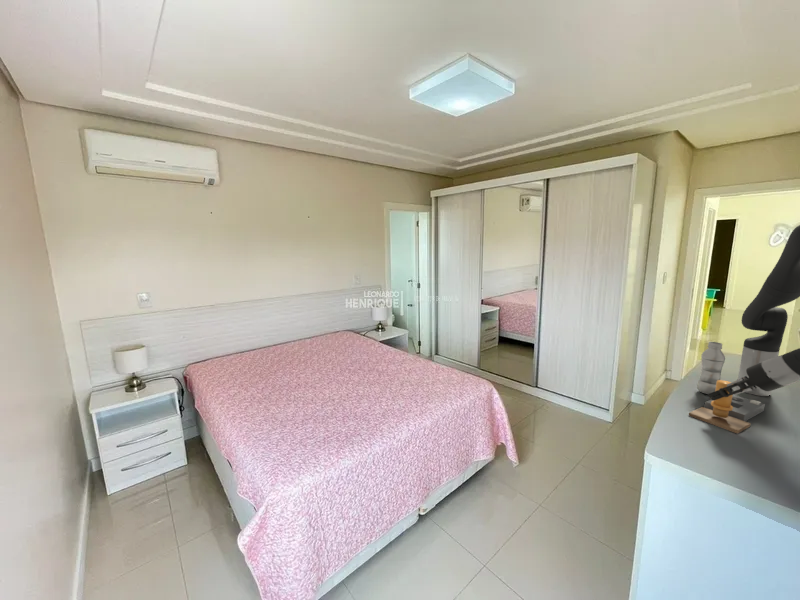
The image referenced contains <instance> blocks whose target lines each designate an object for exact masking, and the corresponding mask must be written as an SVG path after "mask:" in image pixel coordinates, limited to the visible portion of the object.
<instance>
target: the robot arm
mask: <svg viewBox="0 0 800 600" xmlns="http://www.w3.org/2000/svg"><path fill="white" fill-rule="evenodd" d="M799 298H800V224H799V225H796V227H795V228H794V229H793V230H792V232H791V233H790V234H789V237H788V239H787V240H786V244H785V246H784V248H783V249H782V253H781V255H780V257H779V259H778V260H777V262H776V263H775V265H774V266H773V268H772V270H771V272H770V273H769V275H768V276H767V277H766V279H765V280H764V282H763V284H762V286H761V288H760V290H759V292H758V293H757V295H755V297H754V298H753V300H752V301H751V302H750V303H749V304H748V306H747V307H746V308H745V310H744V311H743V314H742V317H741V324H742V326H743V328H745V329H748V330H751V331H758V332H759V331H760V332H766V333H765V334H762V335H760V336H755V337H753V336H752V337H748V338H745V339H744V340H743V341H744V342H743V345H742V353H741V358H740V364H739V370H738V375H737V379H736V380H735V381H732V382H731V383H729V384H727V387H724V388H720V389H719V390H717V391H715V392H712V393H710V394H707V395H708V397H709V398H710V399H712V400H717V399H720V398H722V397H728V396H730V395H736V396H738V395H739V394H742V393H745V394H750V395H754V396H759V397H770V396H771V395H772V391H775V390H778V389H780V388H783V387H786V386H789V385H792V384H795V383H797V382H800V347H798V348H796V349H794V350H792V351H791V350H790V351H789V352H786V353H784V354H781V355H779V354H780V349H781V346H782V343H783V338H784V333H785V331H786V327H787V324H788V318H789V317H788V312H787V310H786V309H785V308H783V307H780V306H782V305H786V304H789V303H791V302H794V301H796V300H797V299H799ZM732 384H733V385H732ZM725 389H726V390H727V391H728V392H729V394H728V392H727V391H726V390H725ZM769 395H770V396H769Z"/></svg>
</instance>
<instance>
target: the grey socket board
mask: <svg viewBox="0 0 800 600" xmlns="http://www.w3.org/2000/svg"><path fill="white" fill-rule="evenodd" d="M711 401H714V400H712V399H711V398H710V399H709V400H706V401H705V402H704V406H703V407H704V408H707V409H710V410H713V406H712V405H711ZM731 406H733V410H732V411H729V414H728V416H731V417H734V418H737V419H739V420H742V421H745V422H747V421H748V420H750V419H752V418H753V417H755V416H758V415H759V414H760V413H763V412H764V411H765V406H766V404H765V403H762V402H761V401H759V400H755V399H749V398H746V397H742V396H739V395H735V394H733V396H732V402H731Z"/></svg>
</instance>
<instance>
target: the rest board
mask: <svg viewBox="0 0 800 600" xmlns="http://www.w3.org/2000/svg"><path fill="white" fill-rule="evenodd" d="M712 412H713V410H710V409H707V408H704V406H700V407H698V408H697V409H694V410H691V411H690V412H689V413H688V416H689V417H692V418H694V419H697V420H700V421H703V422H706V423H708V424H711V425H713V426H716V427H719V428H721V429H724V430H726V431H730V432H732V433H735V434H739V433H742V432H743V431H744V430H746V429H748V428H749V427H751V422H749V421H748V422H747V421H742V420H739V419H737V418H734V417H731V416H728V418H722V417H718V416H716V415H714V414H713V413H712Z"/></svg>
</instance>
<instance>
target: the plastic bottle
mask: <svg viewBox="0 0 800 600" xmlns="http://www.w3.org/2000/svg"><path fill="white" fill-rule="evenodd" d="M707 347H708V348H707V349H705V350H704V351H703V352H702V354H701V369H700V370H701V372H700V376H699V379H698V380H697V384H696V386H697V387H696V388H697V390H698V391H699V392H700V393H703V394H705V395H708V394H710V393H712V392H715V389H716V383H717V380H721V376H722V374H721V373H722V370H723V367H724V363H725V362H726V356H725V354H724V353H723V351H722V349H723V343H722V342H717V341H708V344H707Z"/></svg>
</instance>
